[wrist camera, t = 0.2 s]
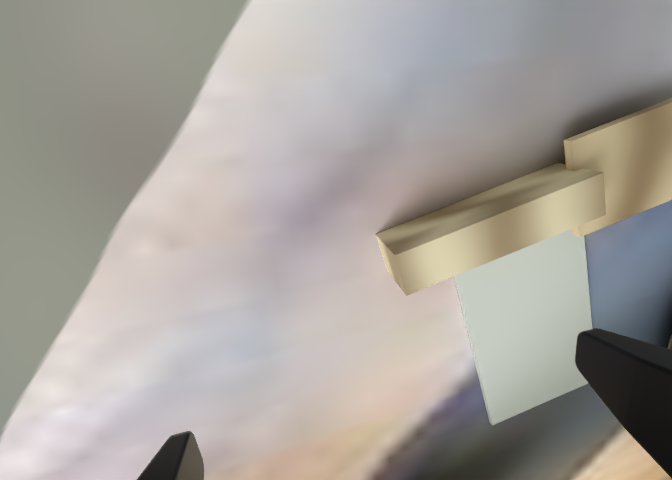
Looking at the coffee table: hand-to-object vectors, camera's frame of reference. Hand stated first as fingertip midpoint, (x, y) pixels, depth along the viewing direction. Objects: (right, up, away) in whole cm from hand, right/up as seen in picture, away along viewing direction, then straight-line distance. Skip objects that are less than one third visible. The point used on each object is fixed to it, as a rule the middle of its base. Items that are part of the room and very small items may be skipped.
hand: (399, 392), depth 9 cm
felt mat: (+12, -3, +19) cm, 23 cm away
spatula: (+10, +6, +15) cm, 19 cm away
